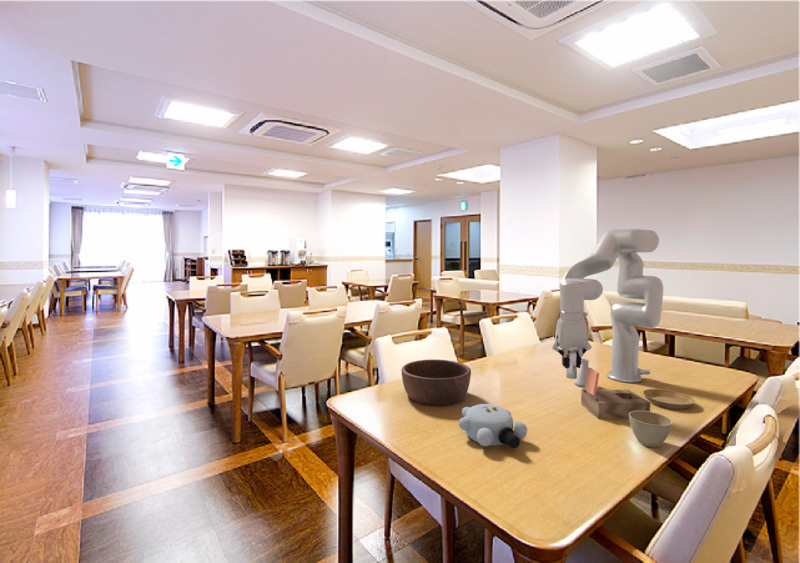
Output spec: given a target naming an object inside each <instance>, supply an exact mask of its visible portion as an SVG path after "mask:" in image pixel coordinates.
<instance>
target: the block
mask: <svg viewBox="0 0 800 563" xmlns="http://www.w3.org/2000/svg"><path fill="white" fill-rule="evenodd" d="M580 392H581V396H580V397H581V398H580V402H581V403H580V404H581V405H582V406H583V407H584V408H585V409H586V410H588V411H589V412H590V413H591V414H592V415H594V416H595V417H596V419H599V420H600V419H605V420H606V419H614V420H617V419H625V420H626V419H628V420H629V413H630V412H632V411H649V412H651V402H650V401H649V400H648V399H647V400H646V398H645V399H644V398H643V397H641V395H638V394H637V393H635V392H633V391H631V390H630V389H597V391H596V396H593V395H591V394H590V393H589V392H587V391H586V390H585V387H582V388H581V391H580Z"/></svg>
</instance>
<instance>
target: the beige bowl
mask: <svg viewBox="0 0 800 563" xmlns="http://www.w3.org/2000/svg"><path fill="white" fill-rule="evenodd" d="M628 420H629V424H630V427H631V430H632V432H633V434H634V437H635V438H636V440H637V442H638V443H640V444H641V445H643V446H645V447H648V446H649V447H650V448H659V447H660V446H662V445H663V443H664V442H665V441H666V439H667V438H668V437H669V434H670V433H671V429H672V428H673V421H672V419H671V418H669V416H665V415H664V414H661V413H657V412H653V411H650V412H649V411H632V412H630V413H629V419H628Z"/></svg>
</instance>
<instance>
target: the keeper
mask: <svg viewBox="0 0 800 563" xmlns="http://www.w3.org/2000/svg"><path fill="white" fill-rule="evenodd" d="M599 377H600V372H598V371H597V370H595V369H593V368H591V367H589V368H588V371H587V378H586V384H585V387H584V388H585V390H586V391H587V392H589V393H590V394H591V395H593V396H596V391H597V390H598V382H599V379H600V378H599Z"/></svg>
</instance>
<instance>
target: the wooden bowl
mask: <svg viewBox="0 0 800 563" xmlns="http://www.w3.org/2000/svg"><path fill="white" fill-rule="evenodd" d="M471 370H472V369H471V367H470V366H468V365H466V364H464V363H461V362H458V361H454V360H447V359H421V360H414V361H411V362H408V363H406V364H404V365H403V366H402V367H401V370H400V371H401V379H402V384H403V388H404V390H405V393H406V394H407V396H408V397H409V399H410V400H412V401H414V402H416V403H418V402H419V404H421V403H422V404H421V405H426V404H427V405H428V406H436V405H440V406H449V405H454V404H456V403H459V402H461V401H462V400H463V399H464V398H465V397H466V394H467V392H468V391H469V387H470V383H471V375H472V371H471Z"/></svg>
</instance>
